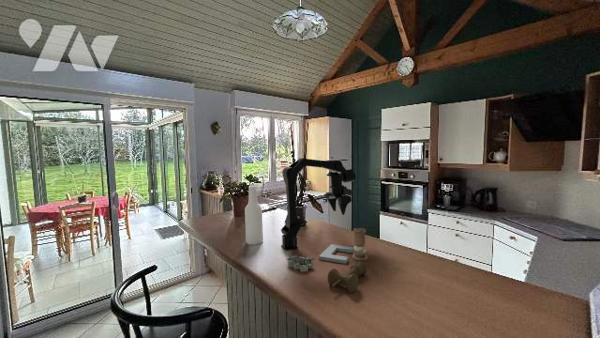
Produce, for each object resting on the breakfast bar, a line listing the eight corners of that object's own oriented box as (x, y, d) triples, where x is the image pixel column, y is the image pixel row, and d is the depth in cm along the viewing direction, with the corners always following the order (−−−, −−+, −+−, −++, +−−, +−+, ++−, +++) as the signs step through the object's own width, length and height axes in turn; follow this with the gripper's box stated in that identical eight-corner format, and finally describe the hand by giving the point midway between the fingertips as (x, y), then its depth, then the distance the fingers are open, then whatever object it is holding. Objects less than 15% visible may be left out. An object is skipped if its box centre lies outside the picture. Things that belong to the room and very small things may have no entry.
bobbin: (358, 262, 114) (358, 232, 113) (349, 257, 119) (349, 228, 118) (370, 259, 116) (370, 230, 115) (361, 254, 122) (360, 226, 121)
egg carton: (315, 267, 110) (315, 258, 110) (303, 274, 105) (302, 264, 105) (297, 260, 118) (297, 251, 117) (284, 266, 112) (284, 256, 112)
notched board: (319, 259, 118) (319, 256, 118) (331, 247, 132) (331, 244, 132) (345, 263, 112) (345, 260, 112) (355, 250, 127) (355, 247, 127)
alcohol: (261, 238, 147) (259, 184, 145) (264, 243, 139) (262, 186, 137) (245, 240, 145) (242, 185, 142) (247, 246, 136) (244, 187, 134)
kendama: (373, 278, 101) (344, 300, 86) (351, 271, 107) (320, 290, 92) (373, 262, 100) (344, 281, 86) (350, 256, 107) (320, 273, 92)
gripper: (359, 183, 135) (361, 214, 136) (341, 180, 152) (343, 207, 154) (340, 186, 131) (342, 218, 133) (323, 182, 148) (325, 210, 150)
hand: (338, 212), depth 142 cm, fingers open, 9 cm apart
